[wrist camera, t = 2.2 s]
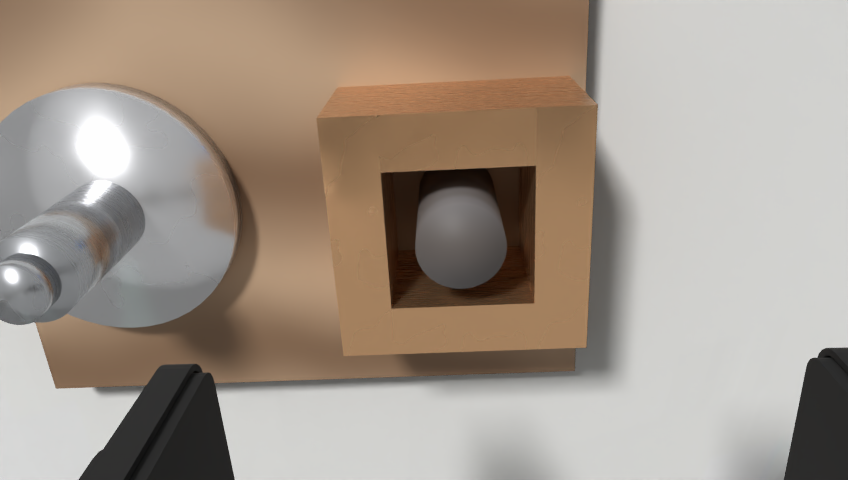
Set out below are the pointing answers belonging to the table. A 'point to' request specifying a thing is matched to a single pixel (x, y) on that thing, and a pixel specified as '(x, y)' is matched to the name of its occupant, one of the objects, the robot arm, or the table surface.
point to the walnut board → (294, 162)
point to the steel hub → (111, 209)
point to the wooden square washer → (461, 149)
